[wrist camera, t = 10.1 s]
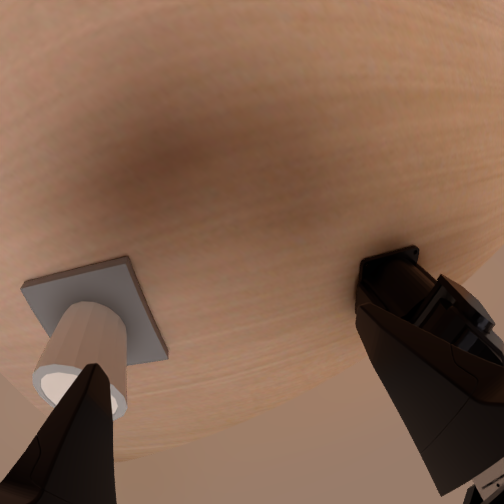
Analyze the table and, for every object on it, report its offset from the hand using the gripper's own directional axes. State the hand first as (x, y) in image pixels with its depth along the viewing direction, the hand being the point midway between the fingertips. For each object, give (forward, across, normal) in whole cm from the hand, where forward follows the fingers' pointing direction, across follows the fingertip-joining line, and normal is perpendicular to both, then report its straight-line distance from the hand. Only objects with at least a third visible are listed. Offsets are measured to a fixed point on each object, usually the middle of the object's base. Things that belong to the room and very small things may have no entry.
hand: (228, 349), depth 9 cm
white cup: (+11, +11, +7) cm, 17 cm away
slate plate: (+12, +11, +7) cm, 18 cm away
